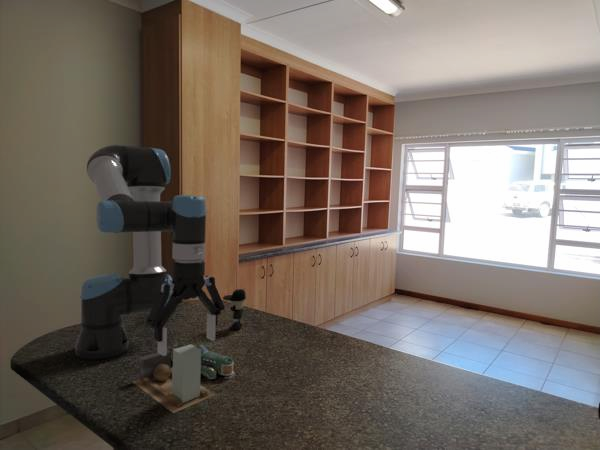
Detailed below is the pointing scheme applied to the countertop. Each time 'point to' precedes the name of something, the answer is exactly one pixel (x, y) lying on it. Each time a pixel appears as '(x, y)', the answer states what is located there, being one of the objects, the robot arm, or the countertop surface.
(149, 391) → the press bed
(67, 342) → the countertop surface
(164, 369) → the walnut
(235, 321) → the toy
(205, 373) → the hoverbike
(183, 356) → the block
